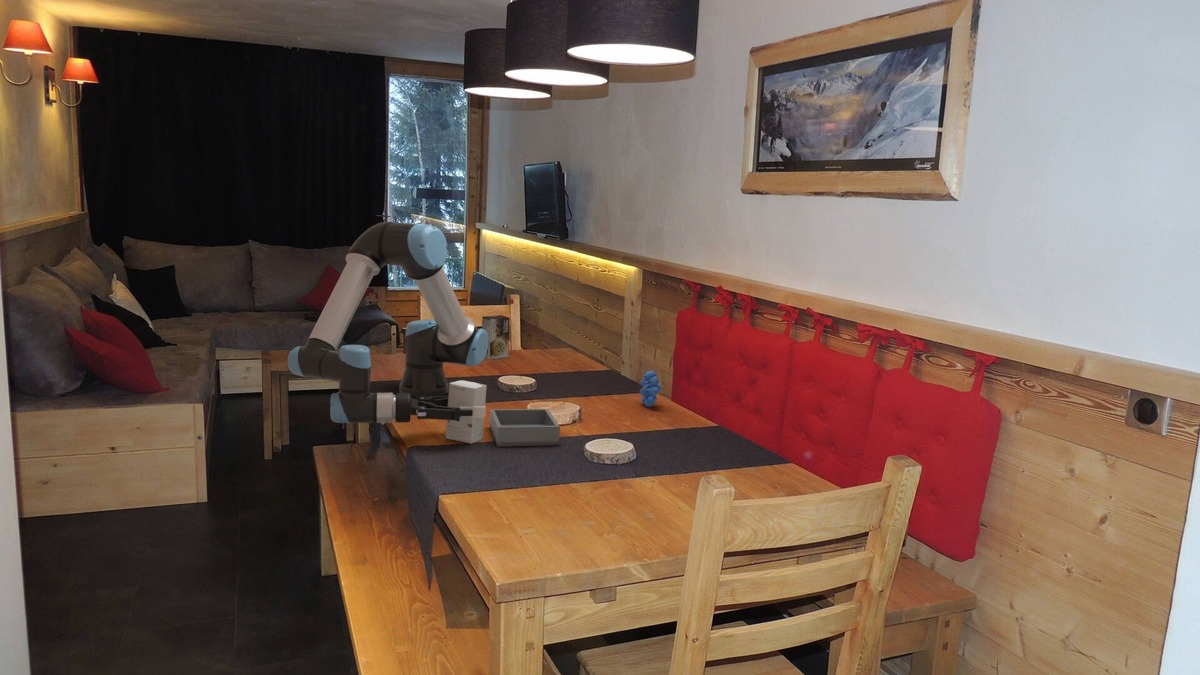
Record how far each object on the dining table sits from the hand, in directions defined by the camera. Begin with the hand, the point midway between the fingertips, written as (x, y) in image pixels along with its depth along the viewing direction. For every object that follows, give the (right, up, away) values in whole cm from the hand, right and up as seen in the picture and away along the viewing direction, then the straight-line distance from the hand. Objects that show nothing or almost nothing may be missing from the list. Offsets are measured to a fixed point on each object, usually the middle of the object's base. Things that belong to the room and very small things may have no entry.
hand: (483, 407), depth 217 cm
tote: (+10, -8, +6) cm, 14 cm away
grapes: (+46, -4, +44) cm, 64 cm away
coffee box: (-11, +10, +110) cm, 111 cm away
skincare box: (-5, -9, 0) cm, 10 cm away
